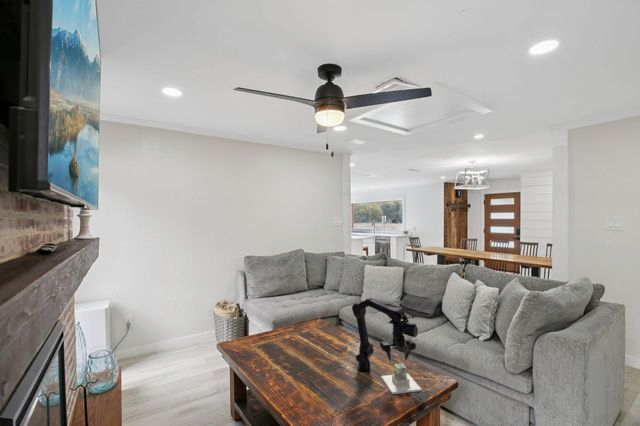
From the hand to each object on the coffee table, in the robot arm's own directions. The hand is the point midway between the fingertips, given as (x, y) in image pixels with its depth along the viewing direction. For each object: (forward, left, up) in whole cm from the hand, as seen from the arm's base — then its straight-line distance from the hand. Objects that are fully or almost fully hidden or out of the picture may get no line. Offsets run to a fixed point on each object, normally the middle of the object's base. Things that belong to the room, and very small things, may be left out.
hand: (397, 360), depth 174 cm
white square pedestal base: (0, -3, -12) cm, 12 cm away
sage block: (0, -2, -8) cm, 8 cm away
